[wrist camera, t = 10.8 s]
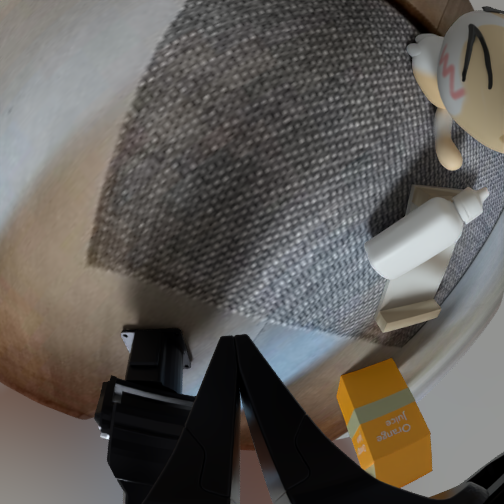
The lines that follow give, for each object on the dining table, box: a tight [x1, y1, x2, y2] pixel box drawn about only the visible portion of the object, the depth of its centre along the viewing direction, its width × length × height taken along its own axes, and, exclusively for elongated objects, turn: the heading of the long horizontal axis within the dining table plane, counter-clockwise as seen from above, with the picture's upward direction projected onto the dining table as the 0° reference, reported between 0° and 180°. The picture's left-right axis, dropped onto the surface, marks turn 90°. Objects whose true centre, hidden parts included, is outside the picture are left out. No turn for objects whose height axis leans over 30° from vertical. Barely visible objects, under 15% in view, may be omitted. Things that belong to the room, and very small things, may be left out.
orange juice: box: [337, 358, 432, 488], centre depth 29 cm, size 8×9×20 cm
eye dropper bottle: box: [364, 187, 489, 280], centre depth 19 cm, size 4×6×12 cm
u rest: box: [374, 184, 464, 333], centre depth 24 cm, size 16×9×2 cm, turn 0°
